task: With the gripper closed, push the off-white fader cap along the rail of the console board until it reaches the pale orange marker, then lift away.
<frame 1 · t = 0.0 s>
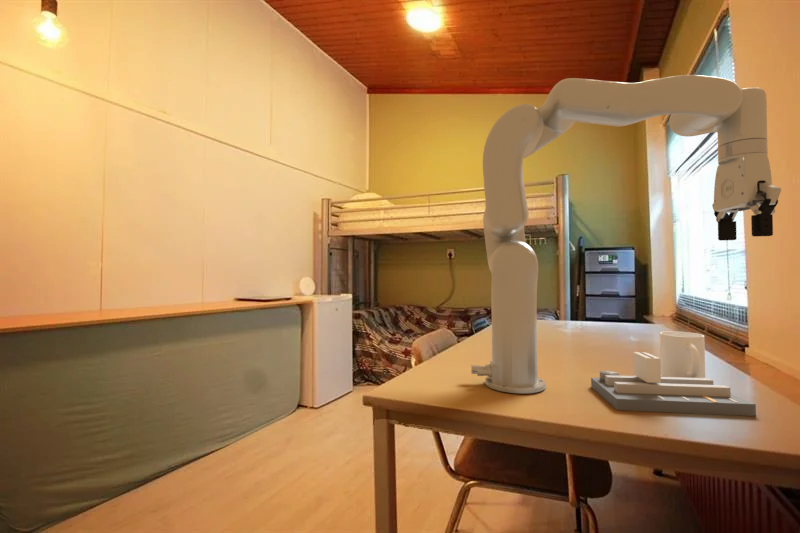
hand: (743, 238, 78), 31 cm above the table, fingers open, 9 cm apart
console: (664, 399, 75), on the table
mug: (685, 382, 87), on the table
fader: (646, 371, 75), point 5 cm above the table, slide at 0.0 cm
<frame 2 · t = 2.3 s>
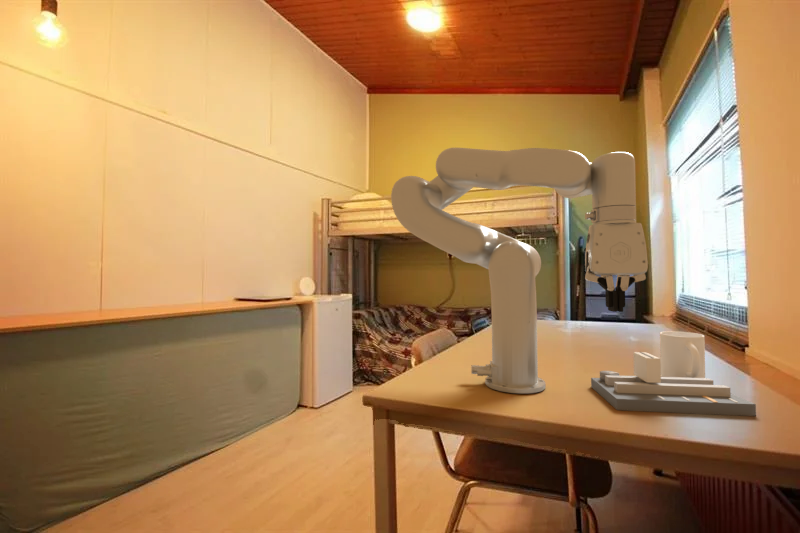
hand: (615, 310, 76), 17 cm above the table, fingers closed
nothing on the table moved.
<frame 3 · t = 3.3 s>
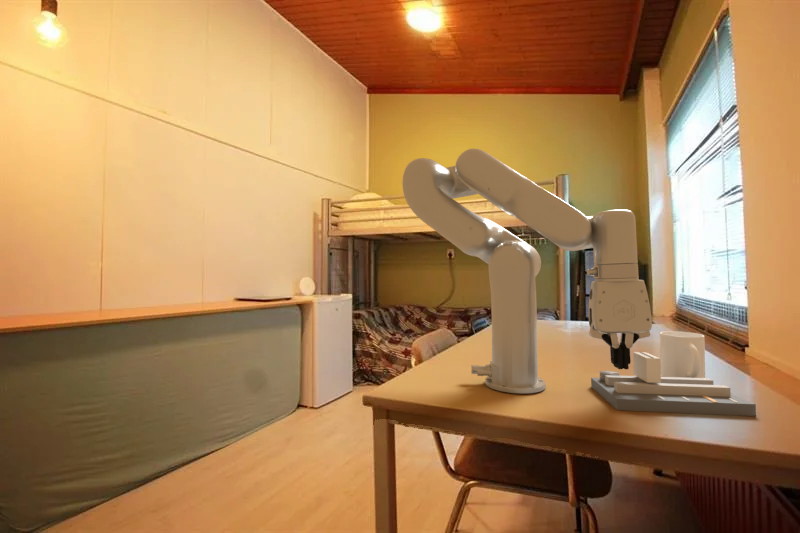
hand: (620, 367, 76), 6 cm above the table, fingers closed
nothing on the table moved.
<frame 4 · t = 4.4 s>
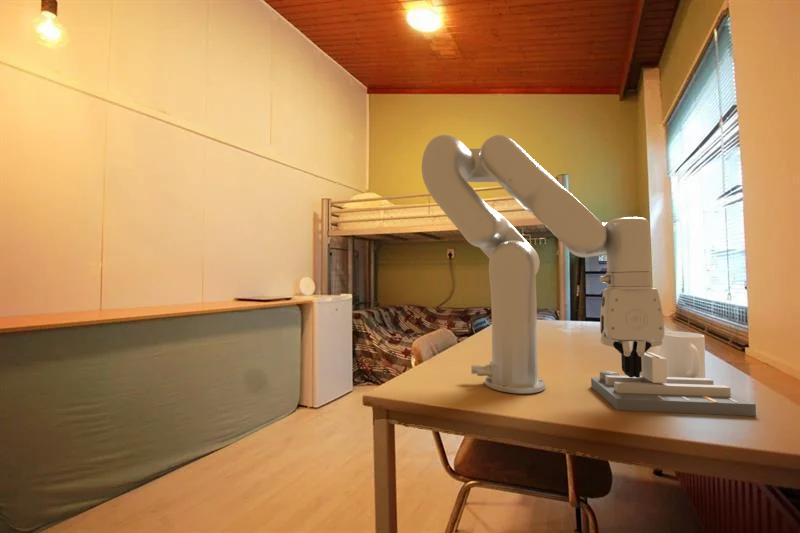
hand: (631, 375, 76), 4 cm above the table, fingers closed
fader: (652, 371, 75), point 5 cm above the table, slide at 1.0 cm, touching gripper
everything else where it was.
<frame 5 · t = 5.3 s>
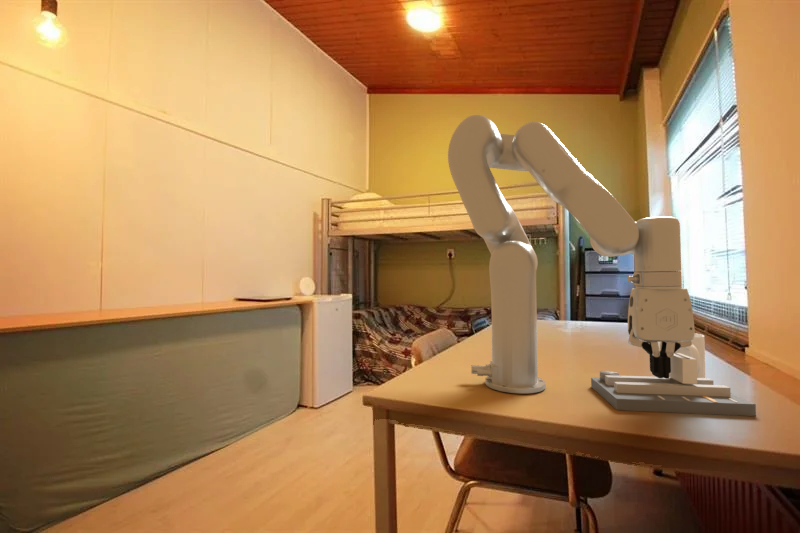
hand: (660, 376, 75), 4 cm above the table, fingers closed
fader: (681, 372, 74), point 5 cm above the table, slide at 6.1 cm, touching gripper
everything else where it was.
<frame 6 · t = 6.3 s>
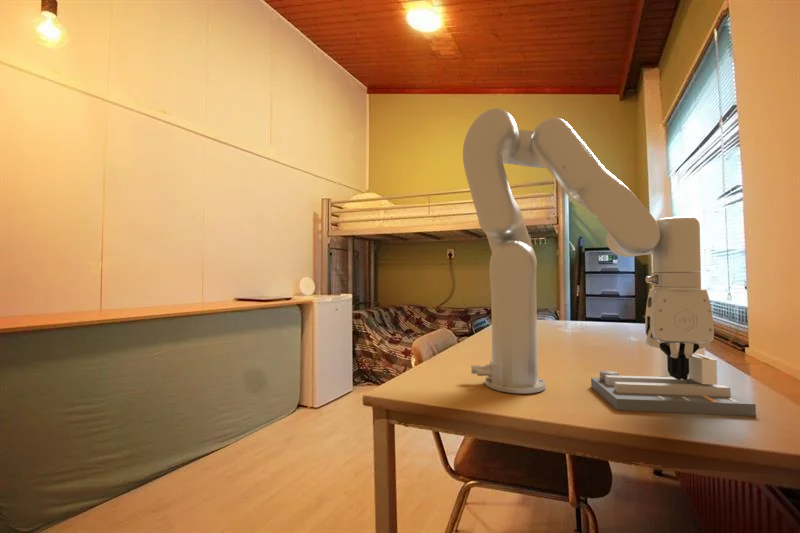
hand: (678, 377, 75), 4 cm above the table, fingers closed
fader: (700, 372, 74), point 5 cm above the table, slide at 9.4 cm, touching gripper
everything else where it was.
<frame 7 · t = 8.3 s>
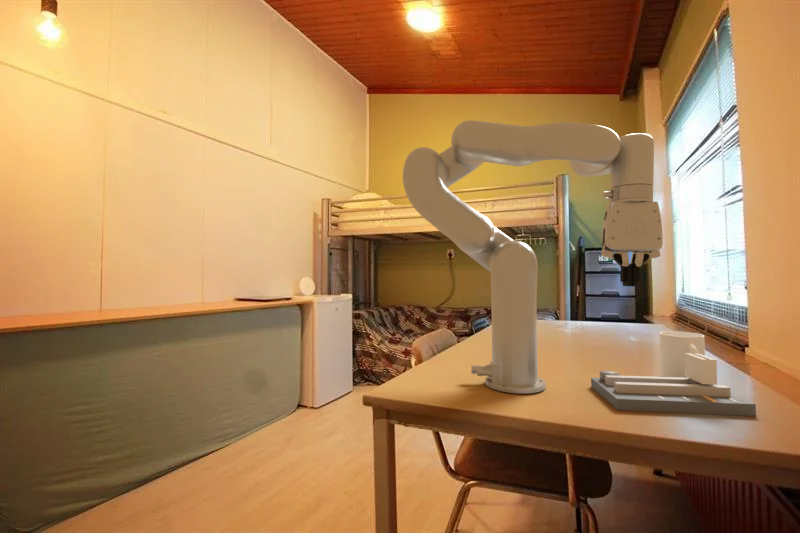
hand: (629, 285, 80), 22 cm above the table, fingers closed
fader: (700, 372, 74), point 5 cm above the table, slide at 9.4 cm
everything else where it was.
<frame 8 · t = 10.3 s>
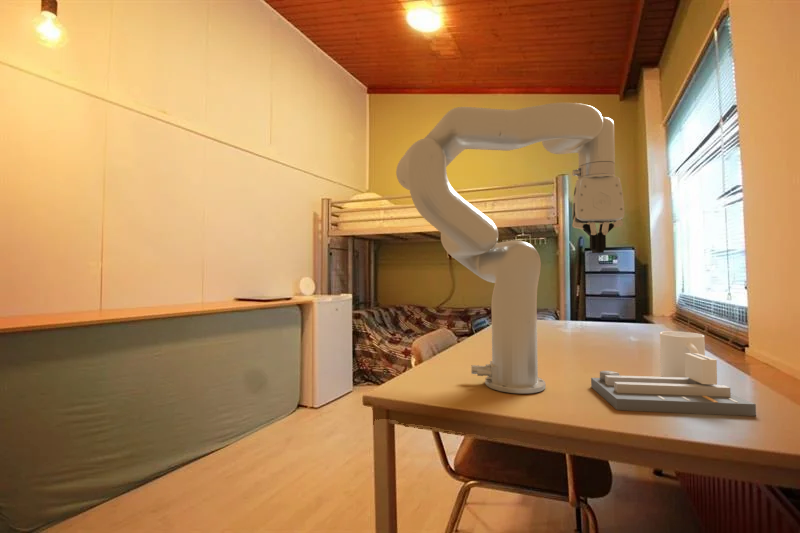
hand: (597, 252, 90), 29 cm above the table, fingers closed
nothing on the table moved.
at the end: fader slide at 9.4 cm; fader touching nothing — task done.
